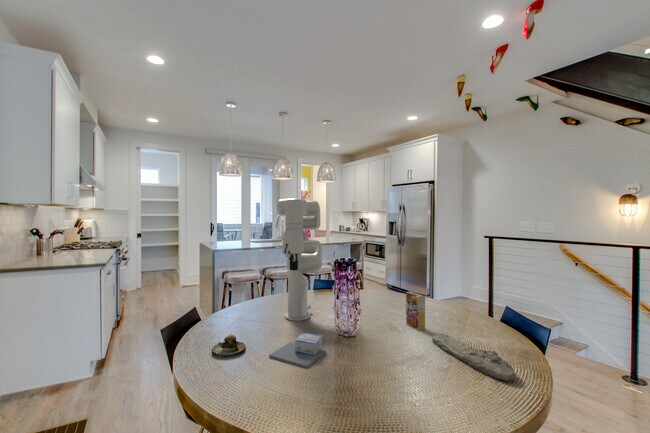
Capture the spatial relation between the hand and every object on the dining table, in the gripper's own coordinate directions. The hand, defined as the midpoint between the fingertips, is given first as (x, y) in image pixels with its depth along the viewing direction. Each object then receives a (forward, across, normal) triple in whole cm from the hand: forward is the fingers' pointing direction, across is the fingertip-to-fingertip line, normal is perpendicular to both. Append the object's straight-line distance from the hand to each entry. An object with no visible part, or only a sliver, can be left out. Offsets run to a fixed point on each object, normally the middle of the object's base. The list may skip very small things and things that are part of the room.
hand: (293, 269), depth 134 cm
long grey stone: (+28, -12, +68) cm, 74 cm away
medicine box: (+24, +8, +15) cm, 29 cm away
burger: (+28, +27, -10) cm, 40 cm away
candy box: (+27, -34, +44) cm, 62 cm away
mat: (+27, +17, +14) cm, 35 cm away
